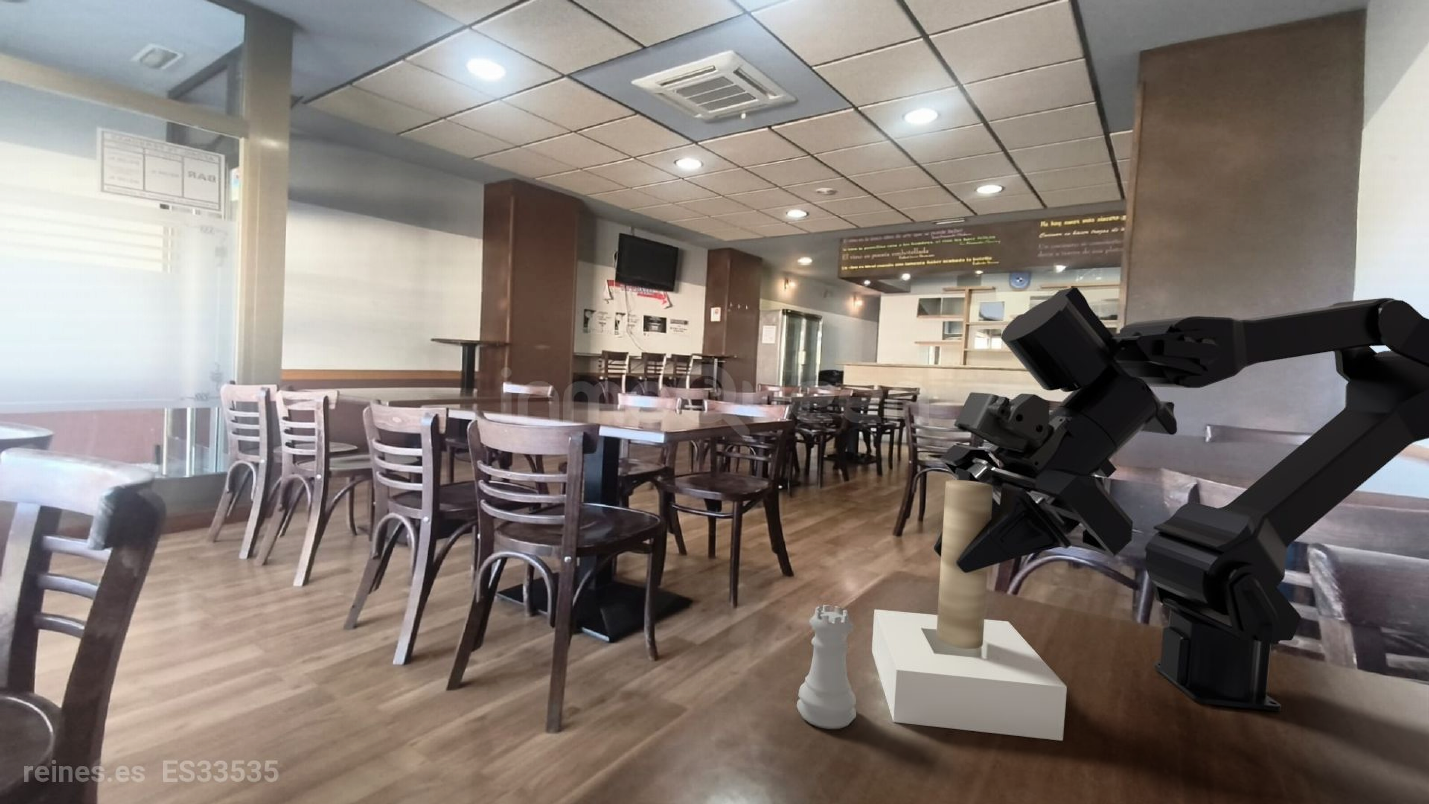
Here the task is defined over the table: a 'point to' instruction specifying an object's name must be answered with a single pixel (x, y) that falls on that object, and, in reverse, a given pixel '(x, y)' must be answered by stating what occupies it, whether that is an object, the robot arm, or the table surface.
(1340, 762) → the table surface
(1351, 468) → the robot arm
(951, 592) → the peg
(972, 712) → the block
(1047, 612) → the table surface
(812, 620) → the rook chess piece
